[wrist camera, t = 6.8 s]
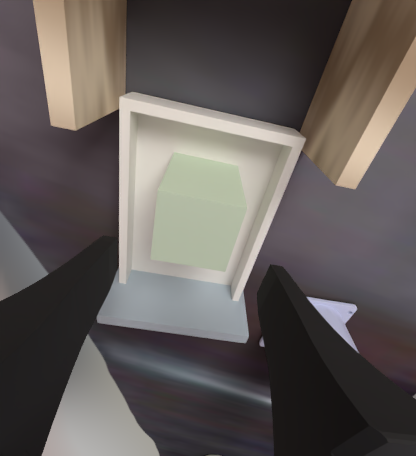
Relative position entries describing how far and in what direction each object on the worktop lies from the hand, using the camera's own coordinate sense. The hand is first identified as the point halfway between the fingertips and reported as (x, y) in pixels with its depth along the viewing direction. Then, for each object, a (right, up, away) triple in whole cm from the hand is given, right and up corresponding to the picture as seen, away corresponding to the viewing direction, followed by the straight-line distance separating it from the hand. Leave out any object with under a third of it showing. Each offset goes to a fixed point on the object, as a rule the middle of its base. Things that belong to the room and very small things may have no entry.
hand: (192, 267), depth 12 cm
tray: (0, +4, +9) cm, 9 cm away
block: (0, +5, +7) cm, 8 cm away
